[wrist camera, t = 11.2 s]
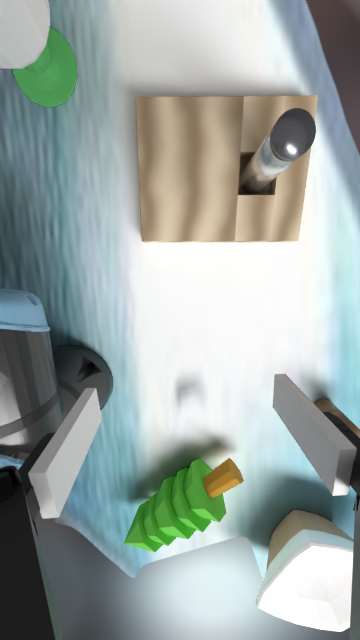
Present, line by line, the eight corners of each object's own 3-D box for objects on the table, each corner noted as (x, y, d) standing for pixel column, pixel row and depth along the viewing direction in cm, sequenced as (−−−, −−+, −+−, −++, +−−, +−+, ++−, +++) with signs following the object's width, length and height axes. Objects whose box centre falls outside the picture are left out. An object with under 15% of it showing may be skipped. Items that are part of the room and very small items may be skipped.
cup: (17, 136, 33) (-122, 33, 18) (-22, 16, 30) (-238, -240, 14) (105, 115, 32) (38, -11, 17) (76, -11, 29) (-42, -312, 14)
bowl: (235, 547, 57) (247, 610, 47) (285, 481, 51) (310, 537, 41) (314, 572, 60) (341, 637, 49) (370, 511, 53) (415, 572, 43)
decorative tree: (256, 519, 37) (125, 599, 42) (250, 476, 49) (148, 542, 53) (214, 459, 39) (93, 540, 44) (217, 431, 51) (121, 498, 55)
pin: (238, 194, 34) (270, 158, 22) (240, 164, 33) (275, 108, 21) (264, 194, 34) (312, 158, 22) (267, 164, 33) (319, 107, 21)
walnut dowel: (310, 415, 46) (336, 446, 38) (313, 398, 45) (341, 427, 37) (330, 415, 46) (359, 446, 38) (333, 398, 45) (365, 427, 37)
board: (145, 242, 37) (142, 240, 34) (139, 111, 32) (135, 96, 29) (289, 242, 37) (298, 240, 34) (305, 110, 32) (317, 95, 29)
